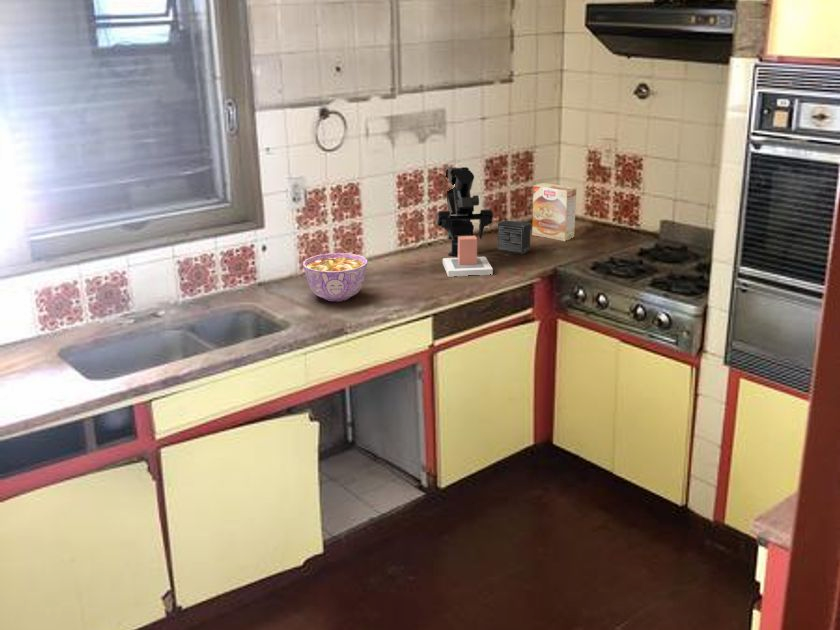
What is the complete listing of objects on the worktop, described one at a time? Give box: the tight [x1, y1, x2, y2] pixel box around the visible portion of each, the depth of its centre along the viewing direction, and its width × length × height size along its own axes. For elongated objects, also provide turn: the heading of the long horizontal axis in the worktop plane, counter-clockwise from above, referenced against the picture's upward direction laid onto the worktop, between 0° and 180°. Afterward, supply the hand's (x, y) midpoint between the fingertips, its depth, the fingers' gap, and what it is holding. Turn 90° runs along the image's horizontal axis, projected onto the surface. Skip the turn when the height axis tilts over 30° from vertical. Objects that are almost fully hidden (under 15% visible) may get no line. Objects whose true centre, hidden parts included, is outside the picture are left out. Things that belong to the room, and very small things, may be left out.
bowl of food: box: [302, 252, 368, 302], centre depth 288 cm, size 20×20×12 cm
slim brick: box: [457, 235, 478, 265], centre depth 313 cm, size 6×4×9 cm, turn 96°
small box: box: [497, 219, 532, 256], centre depth 334 cm, size 11×6×10 cm, turn 58°
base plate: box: [442, 256, 494, 278], centre depth 315 cm, size 15×15×2 cm
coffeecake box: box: [531, 182, 577, 242], centre depth 350 cm, size 15×7×20 cm, turn 50°
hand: (467, 239), depth 312 cm, fingers open, 9 cm apart
